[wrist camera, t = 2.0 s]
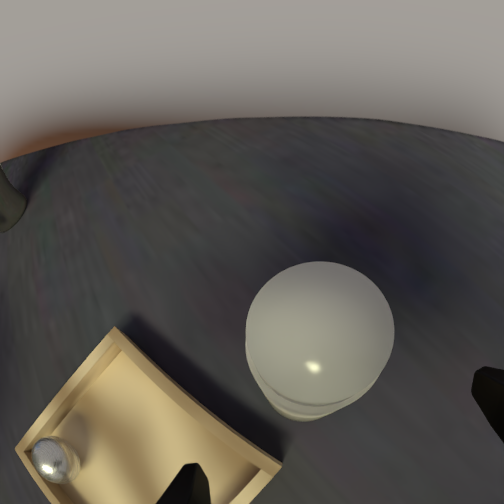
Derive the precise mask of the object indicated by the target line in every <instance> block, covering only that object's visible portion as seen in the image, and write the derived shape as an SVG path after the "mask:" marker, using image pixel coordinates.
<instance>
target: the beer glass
mask: <svg viewBox="0 0 504 504" xmlns="http://www.w3.org/2000/svg"><path fill="white" fill-rule="evenodd" d="M26 204H27V200H26V197H25V196H24V195H23V194H22V193H20V192H19V191H18V190H17V189H16V188H15V187H14V186H13V185H12V184H11V183H10V181H9V180H8V178H7V177H6V175H5V173H4V171H3V169H2V166H1V164H0V233H2V232H5V231H7V230H9V229H10V228H11V227H13V226H14V225H15V224H16V223H17V221H18V220H19V219H20V217H21V216H22V214H23V213H24V211H25V208H26Z"/></svg>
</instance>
